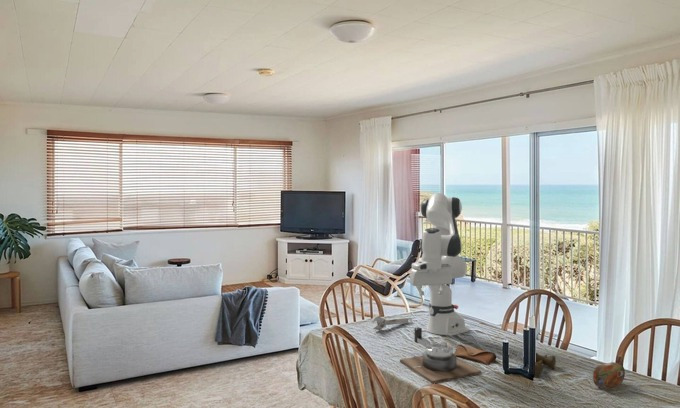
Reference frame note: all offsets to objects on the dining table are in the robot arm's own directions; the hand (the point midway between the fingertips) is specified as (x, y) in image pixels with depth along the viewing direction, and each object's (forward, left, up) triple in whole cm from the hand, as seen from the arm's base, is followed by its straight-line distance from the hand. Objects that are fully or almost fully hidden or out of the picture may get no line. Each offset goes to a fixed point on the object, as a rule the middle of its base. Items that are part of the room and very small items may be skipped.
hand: (431, 294), depth 215 cm
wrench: (-4, -40, -27) cm, 49 cm away
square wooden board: (+6, +16, -27) cm, 32 cm away
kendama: (-32, +34, -27) cm, 54 cm away
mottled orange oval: (-43, +57, -27) cm, 76 cm away
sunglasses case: (-14, +13, -28) cm, 33 cm away
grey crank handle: (+6, +10, -21) cm, 24 cm away
